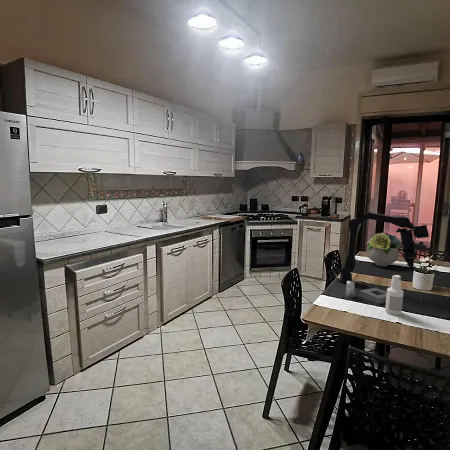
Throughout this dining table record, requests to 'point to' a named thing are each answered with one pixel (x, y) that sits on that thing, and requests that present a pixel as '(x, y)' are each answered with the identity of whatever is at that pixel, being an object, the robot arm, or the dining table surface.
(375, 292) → the socket
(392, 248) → the flower arrangement
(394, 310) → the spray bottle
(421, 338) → the dining table surface
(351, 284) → the peg
